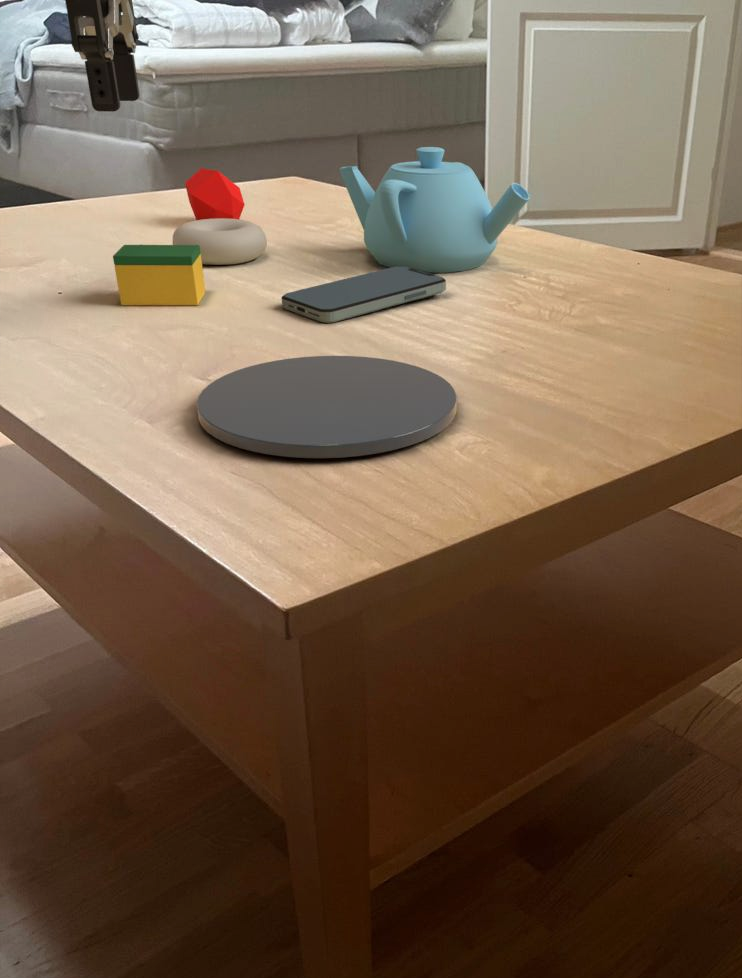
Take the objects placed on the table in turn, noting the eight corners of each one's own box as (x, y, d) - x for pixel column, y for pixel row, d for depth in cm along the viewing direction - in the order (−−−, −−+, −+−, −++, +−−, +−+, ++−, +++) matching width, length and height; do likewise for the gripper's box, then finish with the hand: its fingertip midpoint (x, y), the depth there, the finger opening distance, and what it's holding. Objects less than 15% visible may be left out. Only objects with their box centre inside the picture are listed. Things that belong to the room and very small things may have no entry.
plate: (177, 464, 63) (174, 446, 62) (218, 370, 78) (216, 355, 77) (464, 461, 64) (464, 444, 63) (450, 370, 79) (450, 355, 78)
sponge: (121, 305, 93) (112, 255, 90) (131, 292, 96) (123, 244, 94) (198, 305, 93) (191, 256, 91) (205, 292, 97) (199, 244, 95)
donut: (287, 256, 111) (219, 242, 115) (285, 223, 109) (216, 210, 113) (224, 274, 104) (154, 259, 108) (220, 239, 102) (149, 225, 106)
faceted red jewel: (256, 179, 120) (217, 146, 123) (207, 196, 117) (169, 162, 119) (259, 230, 126) (221, 197, 128) (212, 248, 122) (175, 214, 125)
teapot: (394, 285, 101) (391, 163, 95) (340, 249, 114) (335, 140, 108) (530, 273, 106) (536, 156, 100) (464, 240, 119) (466, 135, 113)
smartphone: (275, 293, 92) (399, 263, 101) (277, 312, 93) (400, 280, 102) (325, 311, 88) (450, 277, 97) (327, 330, 89) (451, 295, 97)
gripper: (56, -117, 86) (92, 97, 95) (6, -132, 74) (52, 114, 83) (146, -114, 87) (174, 98, 95) (110, -129, 75) (145, 115, 83)
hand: (117, 105), depth 89 cm, fingers open, 8 cm apart
